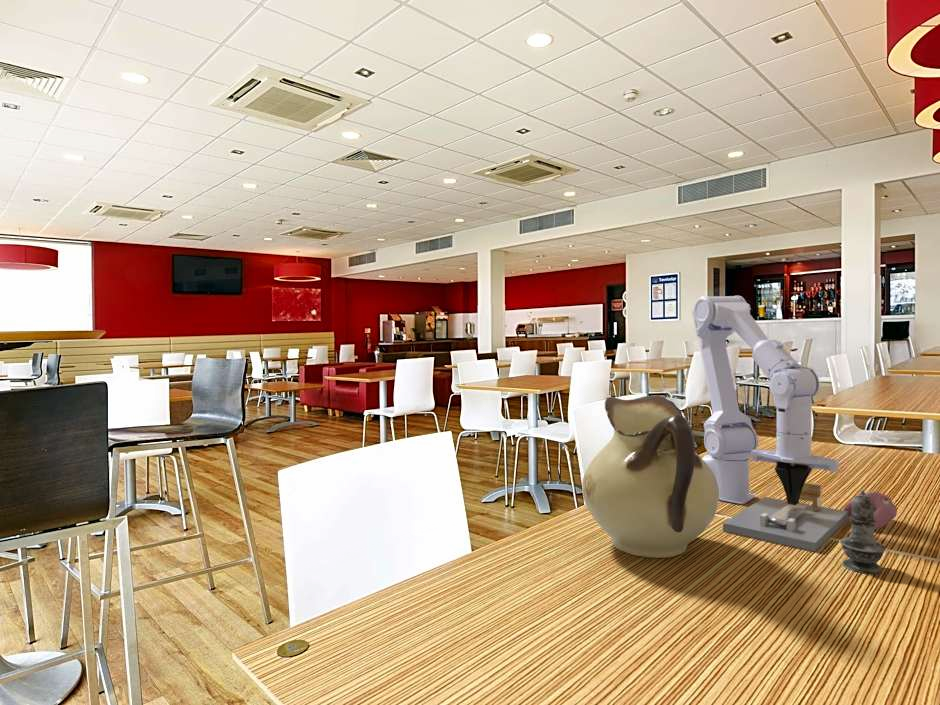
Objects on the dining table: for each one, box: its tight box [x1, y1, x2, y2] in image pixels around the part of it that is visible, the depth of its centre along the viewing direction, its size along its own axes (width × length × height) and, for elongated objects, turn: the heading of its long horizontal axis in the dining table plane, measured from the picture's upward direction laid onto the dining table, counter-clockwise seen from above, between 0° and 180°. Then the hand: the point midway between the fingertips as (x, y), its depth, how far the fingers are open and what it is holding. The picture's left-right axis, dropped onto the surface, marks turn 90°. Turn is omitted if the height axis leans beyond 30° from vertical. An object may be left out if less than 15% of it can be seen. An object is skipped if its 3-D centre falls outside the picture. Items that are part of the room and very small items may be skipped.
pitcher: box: [581, 395, 720, 559], centre depth 101 cm, size 22×24×25 cm
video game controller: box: [843, 490, 898, 531], centre depth 110 cm, size 10×5×7 cm, turn 168°
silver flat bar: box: [768, 504, 807, 526], centre depth 109 cm, size 3×12×1 cm, turn 135°
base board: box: [722, 496, 849, 553], centre depth 110 cm, size 15×22×3 cm
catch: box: [787, 481, 823, 511], centre depth 116 cm, size 5×3×4 cm, turn 45°
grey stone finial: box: [839, 489, 886, 575], centre depth 91 cm, size 6×6×12 cm
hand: (793, 503), depth 112 cm, fingers closed
